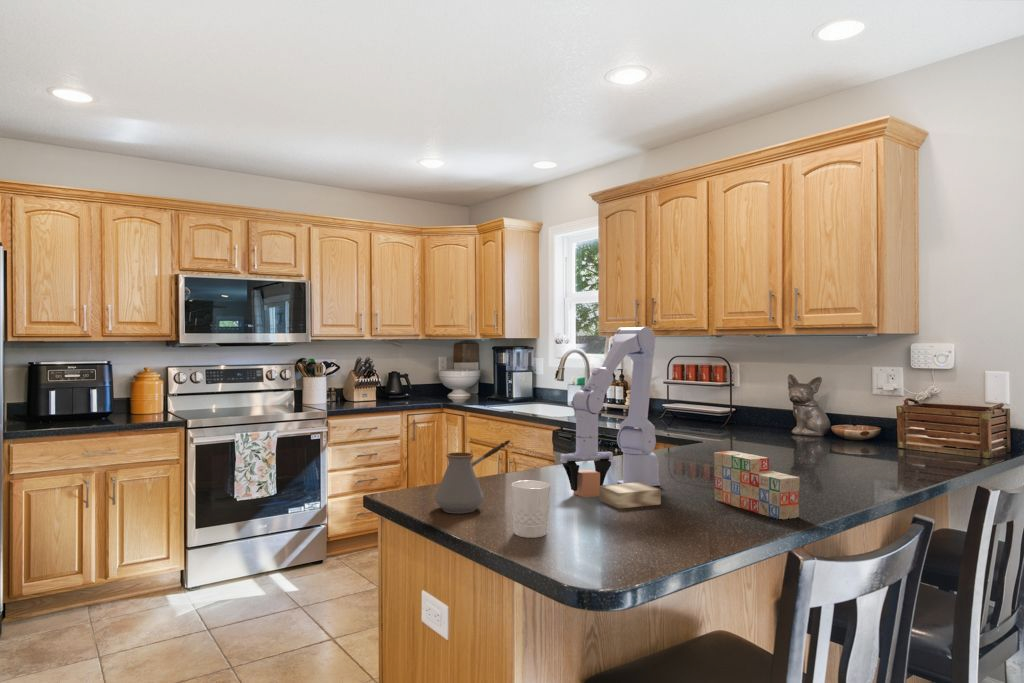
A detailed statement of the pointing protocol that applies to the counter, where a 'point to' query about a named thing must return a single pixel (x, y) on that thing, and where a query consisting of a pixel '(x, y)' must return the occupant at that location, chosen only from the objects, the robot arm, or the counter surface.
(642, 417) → the robot arm
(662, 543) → the counter surface
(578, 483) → the terracotta block
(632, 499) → the birch block
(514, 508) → the white cup
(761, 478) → the stack of blocks
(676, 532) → the counter surface
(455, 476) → the coffee pot
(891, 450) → the counter surface
